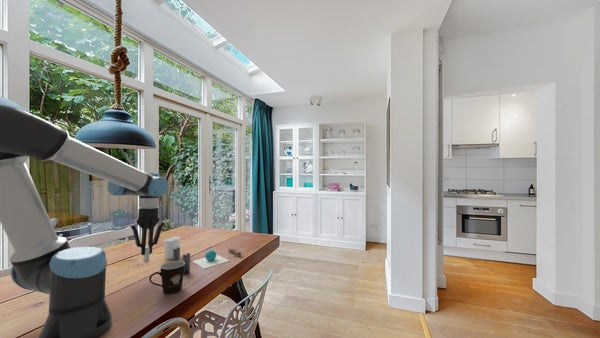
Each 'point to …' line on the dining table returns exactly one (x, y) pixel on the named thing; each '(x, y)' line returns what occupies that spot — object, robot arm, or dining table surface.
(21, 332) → the dining table surface
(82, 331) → the robot arm
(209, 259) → the ball
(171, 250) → the white cup
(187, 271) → the near post
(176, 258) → the far post
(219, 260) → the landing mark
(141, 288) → the dining table surface
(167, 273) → the coffee mug
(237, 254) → the stopper wall
